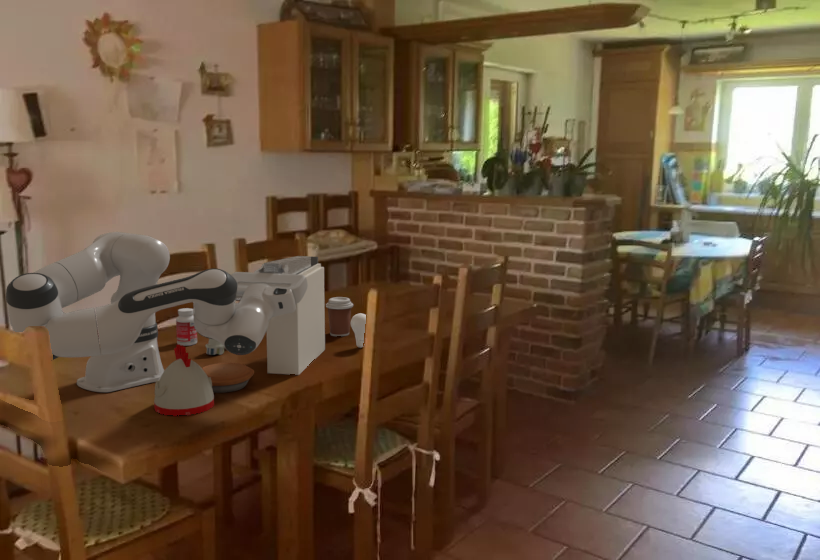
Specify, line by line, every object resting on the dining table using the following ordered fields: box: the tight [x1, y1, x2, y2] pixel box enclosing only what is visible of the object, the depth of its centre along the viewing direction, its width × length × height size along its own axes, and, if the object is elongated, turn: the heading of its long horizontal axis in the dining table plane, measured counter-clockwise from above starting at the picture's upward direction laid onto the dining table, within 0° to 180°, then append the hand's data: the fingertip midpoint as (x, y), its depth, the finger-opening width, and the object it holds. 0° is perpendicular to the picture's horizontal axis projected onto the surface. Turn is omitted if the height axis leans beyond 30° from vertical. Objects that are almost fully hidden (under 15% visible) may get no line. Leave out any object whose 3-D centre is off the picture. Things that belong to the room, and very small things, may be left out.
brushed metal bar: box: [263, 255, 311, 274], centre depth 205 cm, size 28×4×4 cm, turn 170°
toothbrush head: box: [205, 338, 225, 356], centre depth 232 cm, size 5×7×25 cm
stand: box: [266, 256, 326, 376], centre depth 215 cm, size 27×9×29 cm, turn 170°
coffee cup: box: [325, 296, 354, 337], centre depth 247 cm, size 9×9×12 cm
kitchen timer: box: [153, 344, 215, 417], centre depth 178 cm, size 14×14×15 cm
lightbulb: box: [350, 312, 367, 349], centre depth 231 cm, size 6×6×11 cm
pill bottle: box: [175, 307, 198, 347], centre depth 233 cm, size 6×6×11 cm
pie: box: [201, 362, 255, 394], centre depth 194 cm, size 15×16×5 cm
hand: (275, 266), depth 195 cm, fingers closed on brushed metal bar, 4 cm apart
